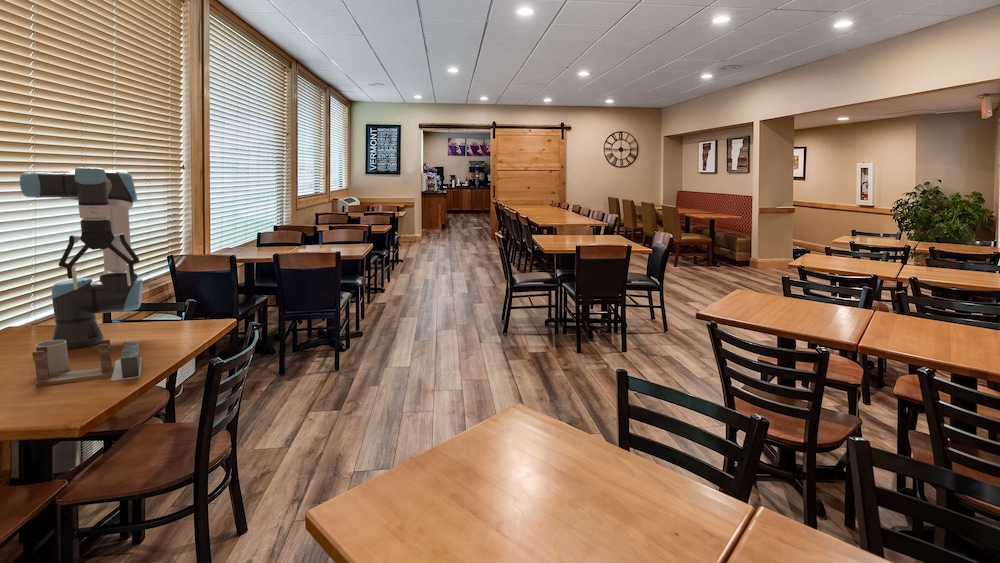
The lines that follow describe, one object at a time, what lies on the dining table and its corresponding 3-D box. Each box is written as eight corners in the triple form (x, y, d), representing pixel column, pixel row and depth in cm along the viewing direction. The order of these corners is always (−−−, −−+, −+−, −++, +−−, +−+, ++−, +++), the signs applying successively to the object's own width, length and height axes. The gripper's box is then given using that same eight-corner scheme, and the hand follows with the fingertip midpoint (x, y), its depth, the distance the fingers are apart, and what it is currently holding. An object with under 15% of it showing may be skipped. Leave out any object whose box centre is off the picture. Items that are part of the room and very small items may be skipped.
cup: (44, 376, 163) (40, 347, 162) (32, 370, 169) (28, 342, 167) (73, 370, 169) (70, 342, 168) (61, 364, 175) (57, 337, 173)
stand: (40, 378, 161) (36, 346, 160) (113, 369, 170) (110, 338, 169) (35, 386, 155) (31, 353, 153) (111, 376, 164) (108, 344, 162)
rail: (122, 378, 161) (120, 358, 160) (125, 360, 178) (123, 342, 177) (138, 376, 163) (136, 356, 162) (140, 358, 180) (138, 341, 179)
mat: (116, 361, 178) (116, 360, 178) (141, 358, 182) (141, 357, 182) (111, 381, 160) (110, 380, 160) (139, 377, 163) (139, 376, 163)
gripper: (41, 220, 157) (50, 292, 162) (144, 219, 171) (150, 285, 175) (44, 218, 164) (53, 288, 168) (143, 217, 177) (150, 281, 181)
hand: (103, 287), depth 171 cm, fingers open, 13 cm apart
